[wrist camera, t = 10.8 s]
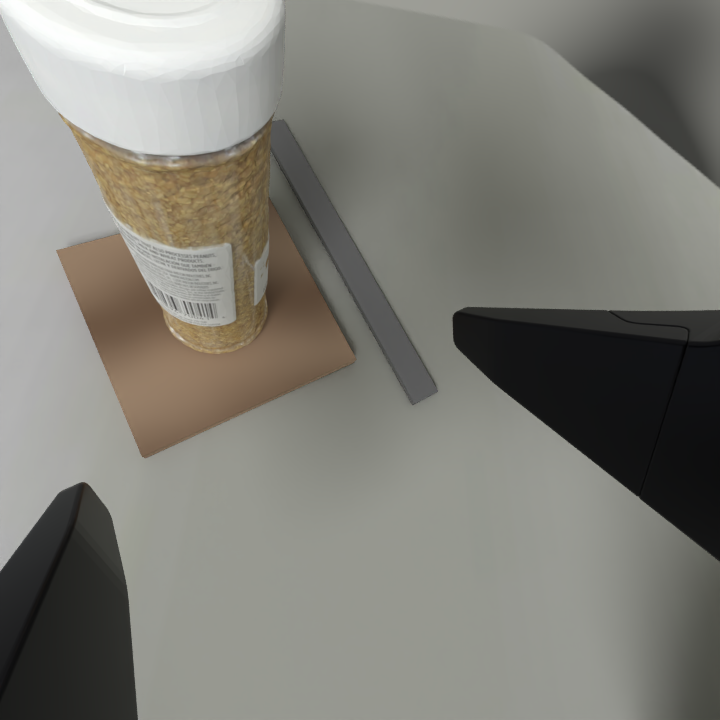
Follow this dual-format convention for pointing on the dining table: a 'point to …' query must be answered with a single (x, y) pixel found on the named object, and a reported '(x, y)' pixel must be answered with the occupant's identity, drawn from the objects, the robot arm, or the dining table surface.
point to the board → (193, 368)
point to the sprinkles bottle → (172, 140)
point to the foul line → (351, 266)
